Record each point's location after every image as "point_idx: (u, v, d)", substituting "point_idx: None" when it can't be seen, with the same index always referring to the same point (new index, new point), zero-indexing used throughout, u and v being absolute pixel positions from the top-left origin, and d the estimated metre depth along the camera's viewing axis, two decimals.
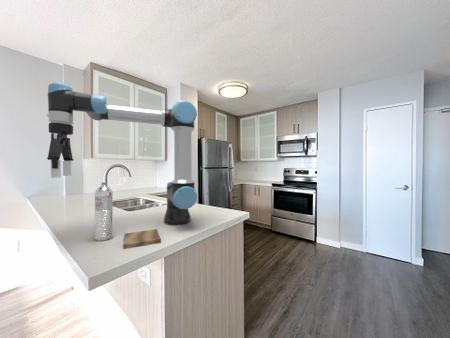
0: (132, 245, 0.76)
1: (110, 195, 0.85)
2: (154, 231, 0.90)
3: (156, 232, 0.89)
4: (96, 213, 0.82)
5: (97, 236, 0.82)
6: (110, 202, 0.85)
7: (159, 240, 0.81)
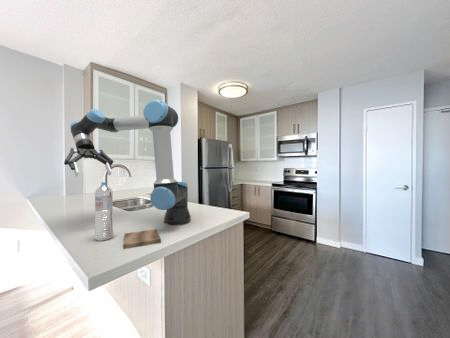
0: (132, 245, 0.76)
1: (110, 195, 0.85)
2: (154, 231, 0.90)
3: (156, 232, 0.89)
4: (96, 213, 0.82)
5: (97, 236, 0.82)
6: (110, 202, 0.85)
7: (159, 240, 0.81)
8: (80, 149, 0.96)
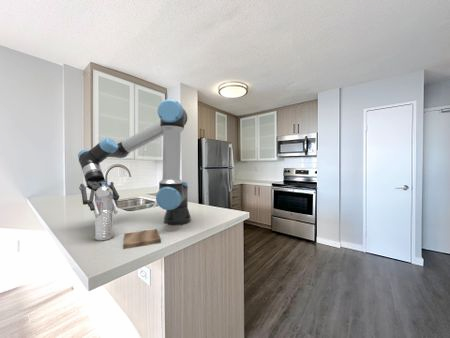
0: (132, 245, 0.76)
1: (110, 195, 0.85)
2: (154, 231, 0.90)
3: (156, 232, 0.89)
4: None
5: (97, 236, 0.82)
6: (110, 202, 0.85)
7: (159, 240, 0.81)
8: (89, 182, 0.88)
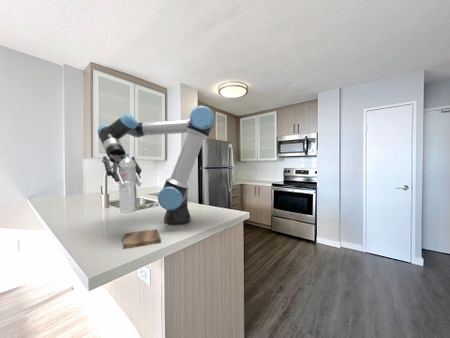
0: (132, 245, 0.76)
1: (134, 167, 0.83)
2: (154, 231, 0.90)
3: (156, 232, 0.89)
4: None
5: (122, 208, 0.81)
6: (134, 174, 0.83)
7: (159, 240, 0.81)
8: (111, 155, 0.86)
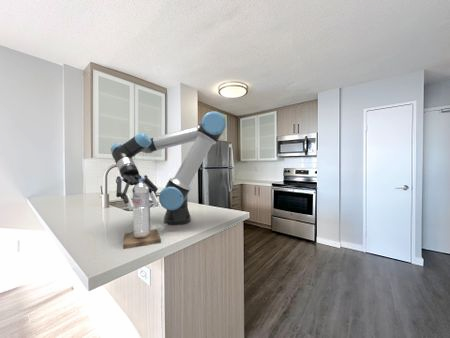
0: (132, 245, 0.76)
1: (147, 192, 0.83)
2: (154, 231, 0.90)
3: (156, 232, 0.89)
4: (135, 210, 0.81)
5: (136, 234, 0.81)
6: (148, 199, 0.83)
7: (159, 240, 0.81)
8: (126, 176, 0.86)
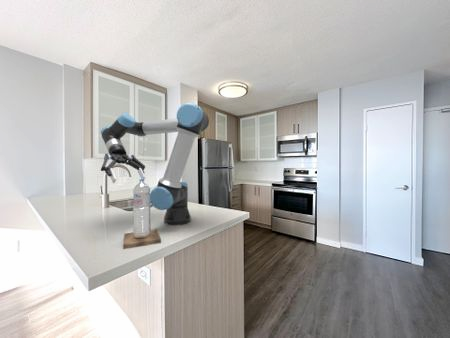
0: (132, 245, 0.76)
1: (148, 192, 0.83)
2: (154, 231, 0.90)
3: (156, 232, 0.89)
4: (135, 210, 0.81)
5: (136, 234, 0.81)
6: (148, 199, 0.83)
7: (159, 240, 0.81)
8: (114, 155, 0.94)
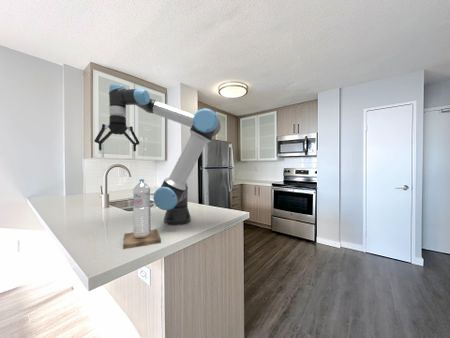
0: (132, 245, 0.76)
1: (148, 192, 0.83)
2: (154, 231, 0.90)
3: (156, 232, 0.89)
4: (135, 210, 0.81)
5: (136, 234, 0.81)
6: (148, 199, 0.83)
7: (159, 240, 0.81)
8: (111, 126, 0.97)
